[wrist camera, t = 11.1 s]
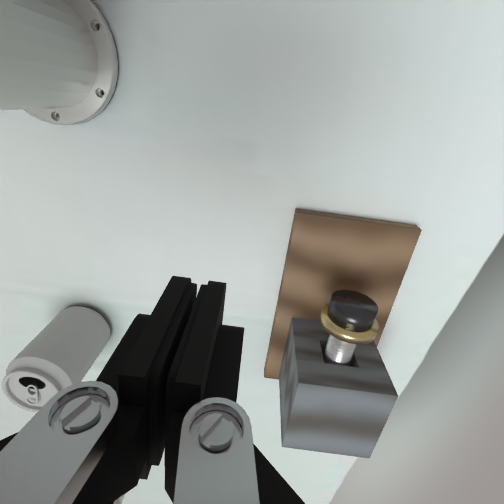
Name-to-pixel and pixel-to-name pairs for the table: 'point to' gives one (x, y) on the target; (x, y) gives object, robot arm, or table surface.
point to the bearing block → (315, 336)
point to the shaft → (347, 324)
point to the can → (56, 357)
